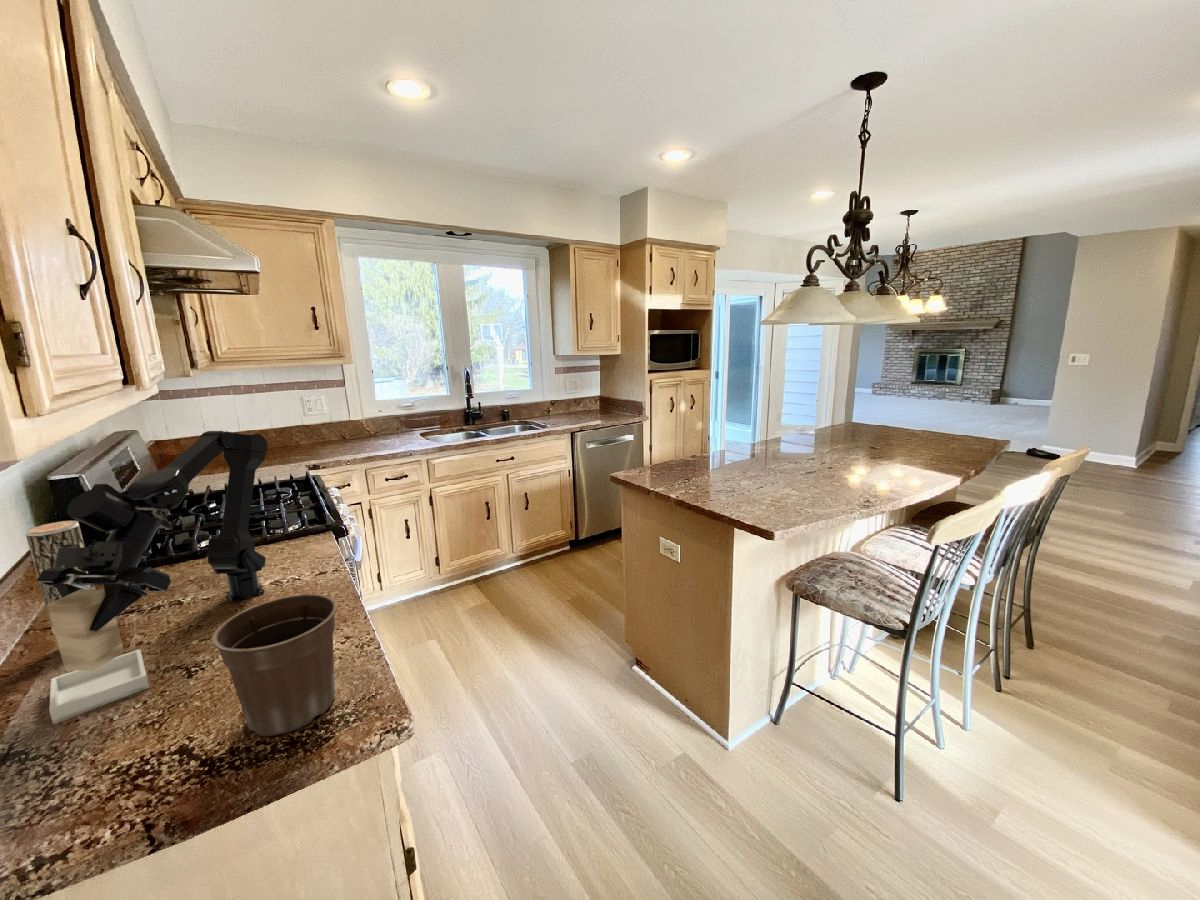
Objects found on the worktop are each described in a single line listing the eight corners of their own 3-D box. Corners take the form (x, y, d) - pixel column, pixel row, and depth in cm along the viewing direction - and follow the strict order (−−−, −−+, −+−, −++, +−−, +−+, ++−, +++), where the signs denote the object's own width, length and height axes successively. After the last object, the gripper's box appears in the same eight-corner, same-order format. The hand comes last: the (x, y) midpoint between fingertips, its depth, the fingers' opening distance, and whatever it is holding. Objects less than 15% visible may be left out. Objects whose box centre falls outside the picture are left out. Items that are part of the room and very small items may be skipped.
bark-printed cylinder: (58, 645, 96) (26, 527, 91) (106, 630, 101) (78, 518, 96) (57, 659, 92) (23, 536, 87) (108, 643, 97) (78, 526, 92)
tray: (54, 691, 83) (51, 678, 82) (142, 660, 91) (140, 648, 91) (53, 724, 76) (49, 710, 75) (149, 687, 84) (146, 675, 83)
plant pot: (239, 695, 81) (222, 608, 78) (346, 664, 89) (335, 584, 86) (222, 765, 68) (200, 663, 64) (350, 721, 75) (337, 628, 72)
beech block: (96, 651, 85) (80, 589, 82) (124, 651, 85) (108, 589, 82) (65, 670, 80) (46, 604, 77) (94, 670, 80) (76, 604, 77)
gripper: (34, 524, 81) (-33, 618, 73) (141, 523, 81) (87, 618, 72) (94, 548, 91) (41, 634, 82) (190, 547, 90) (147, 635, 82)
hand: (77, 630), depth 80 cm, fingers closed on beech block, 5 cm apart
